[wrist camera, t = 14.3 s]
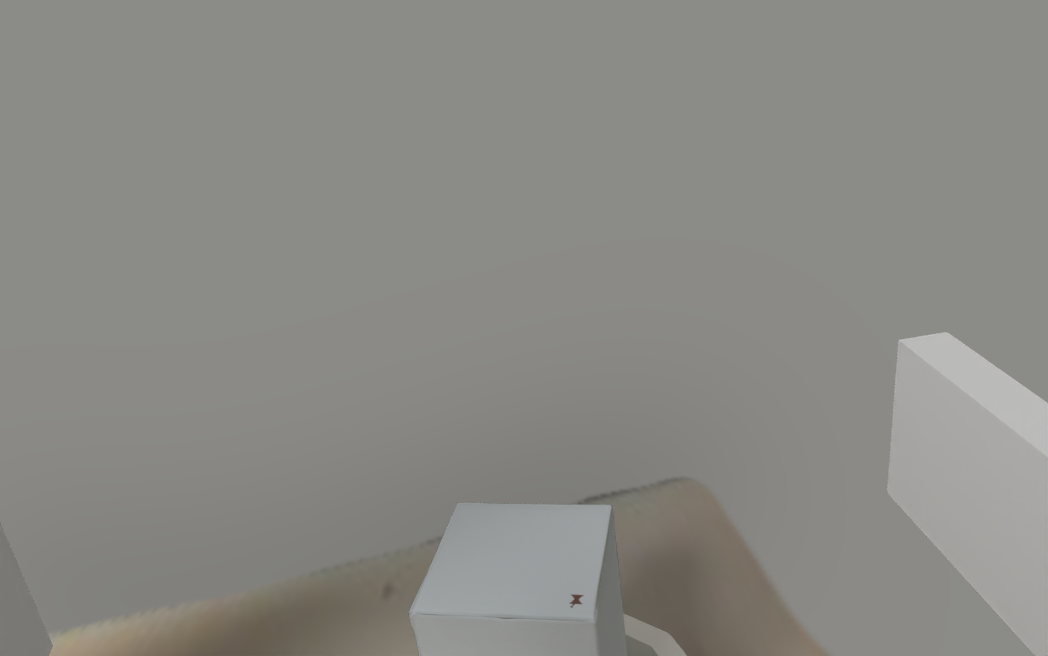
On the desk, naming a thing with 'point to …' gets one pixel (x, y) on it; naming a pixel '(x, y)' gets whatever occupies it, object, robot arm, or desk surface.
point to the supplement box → (523, 584)
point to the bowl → (648, 640)
